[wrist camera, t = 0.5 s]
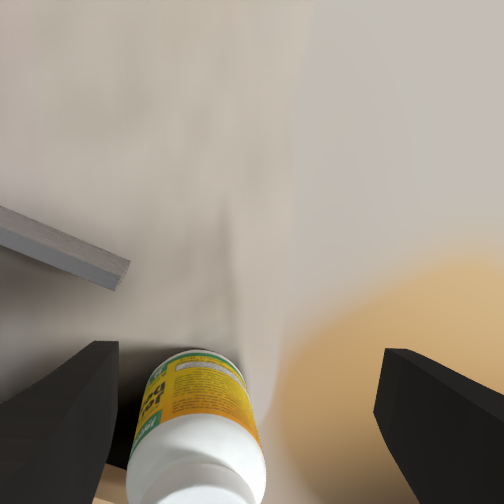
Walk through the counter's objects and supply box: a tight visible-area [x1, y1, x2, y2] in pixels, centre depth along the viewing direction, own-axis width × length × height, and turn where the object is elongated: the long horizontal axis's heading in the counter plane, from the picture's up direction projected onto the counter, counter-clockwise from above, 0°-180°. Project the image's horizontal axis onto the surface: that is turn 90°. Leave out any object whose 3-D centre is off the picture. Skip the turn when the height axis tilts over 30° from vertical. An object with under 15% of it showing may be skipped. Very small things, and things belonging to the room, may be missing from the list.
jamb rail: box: [92, 463, 129, 504], centre depth 22 cm, size 20×1×2 cm, turn 64°
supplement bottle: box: [126, 350, 266, 504], centre depth 19 cm, size 5×5×10 cm
